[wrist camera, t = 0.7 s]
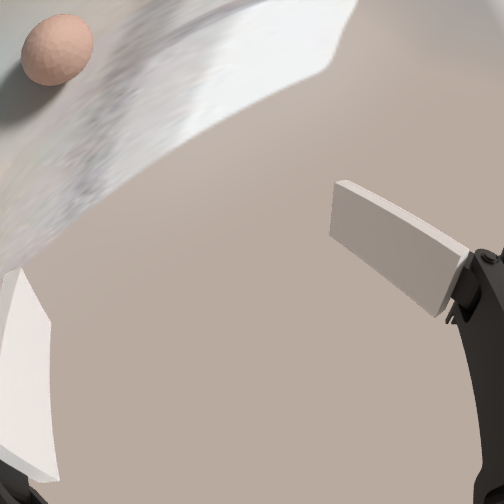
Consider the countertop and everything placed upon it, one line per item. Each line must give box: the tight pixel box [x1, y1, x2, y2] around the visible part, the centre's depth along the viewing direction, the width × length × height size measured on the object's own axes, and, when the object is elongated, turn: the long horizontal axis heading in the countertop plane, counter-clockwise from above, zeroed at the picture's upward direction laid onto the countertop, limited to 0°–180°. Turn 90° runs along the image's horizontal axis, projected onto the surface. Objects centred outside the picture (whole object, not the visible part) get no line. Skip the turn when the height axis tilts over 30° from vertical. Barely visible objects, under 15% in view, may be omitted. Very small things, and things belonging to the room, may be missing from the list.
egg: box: [21, 14, 93, 86], centre depth 17 cm, size 7×7×10 cm
